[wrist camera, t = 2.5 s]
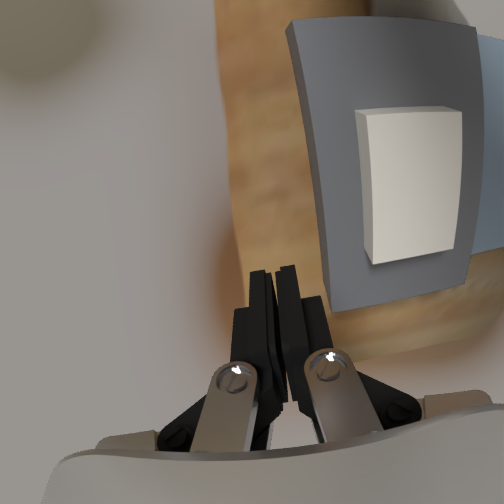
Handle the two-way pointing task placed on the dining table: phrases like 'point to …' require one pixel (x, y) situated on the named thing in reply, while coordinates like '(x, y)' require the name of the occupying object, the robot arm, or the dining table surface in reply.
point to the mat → (492, 148)
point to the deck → (347, 150)
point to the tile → (409, 179)
